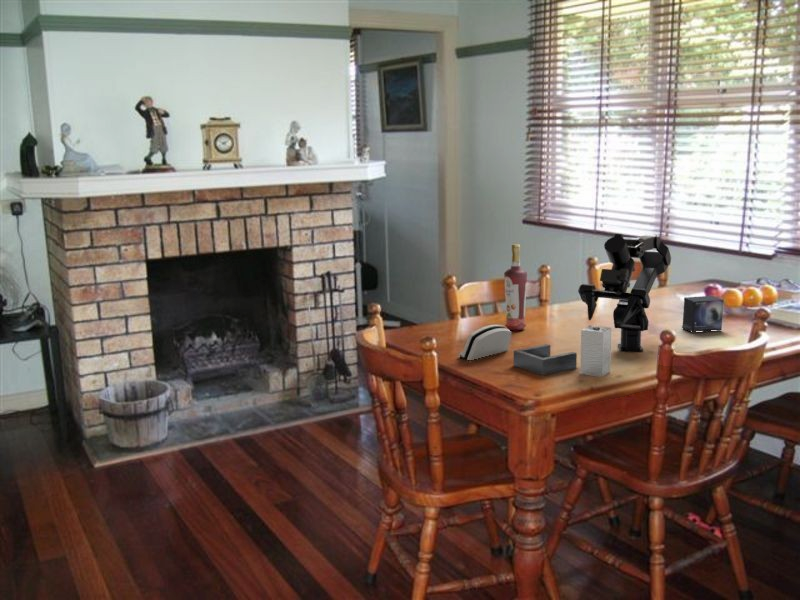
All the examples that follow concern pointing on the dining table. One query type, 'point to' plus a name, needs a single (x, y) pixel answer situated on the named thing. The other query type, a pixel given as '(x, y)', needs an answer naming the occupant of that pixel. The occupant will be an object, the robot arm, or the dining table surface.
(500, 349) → the grey rounded block
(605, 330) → the block
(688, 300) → the small box
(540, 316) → the dining table surface
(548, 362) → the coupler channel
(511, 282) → the liquor
